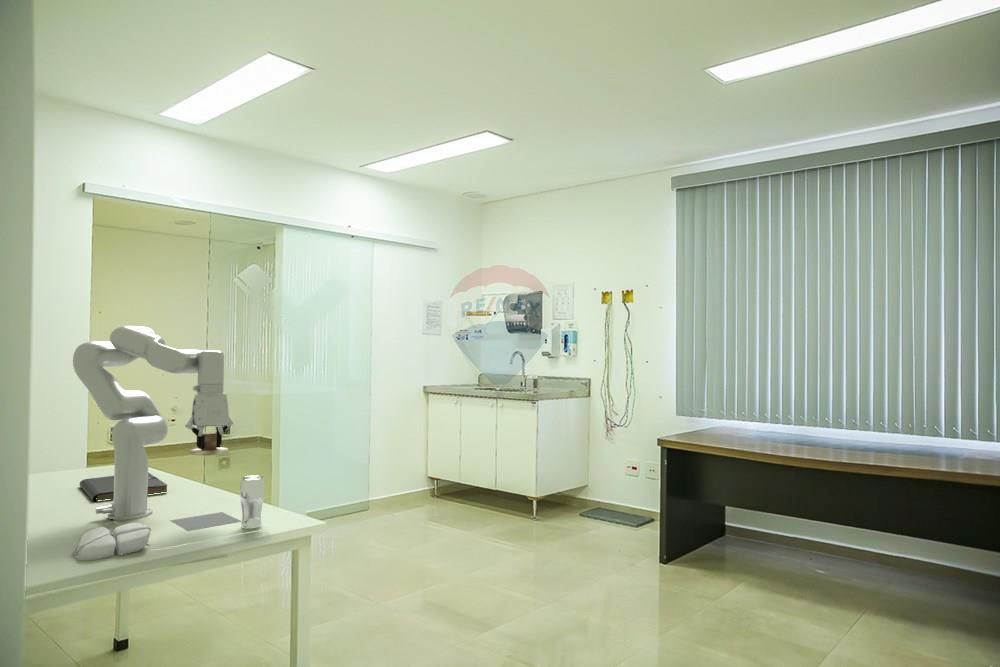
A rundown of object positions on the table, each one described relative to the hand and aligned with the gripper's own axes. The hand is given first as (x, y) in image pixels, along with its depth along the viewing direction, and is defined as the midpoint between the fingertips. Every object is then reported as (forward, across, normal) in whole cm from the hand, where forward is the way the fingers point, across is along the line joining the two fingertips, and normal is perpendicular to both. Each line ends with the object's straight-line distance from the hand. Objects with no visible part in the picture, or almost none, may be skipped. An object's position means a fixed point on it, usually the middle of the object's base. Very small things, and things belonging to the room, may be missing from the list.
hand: (209, 447), depth 200 cm
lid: (+2, 0, 0) cm, 2 cm away
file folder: (+24, -6, +69) cm, 74 cm away
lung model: (+24, -28, -7) cm, 38 cm away
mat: (+23, 0, 0) cm, 23 cm away
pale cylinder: (+24, +8, -14) cm, 29 cm away
